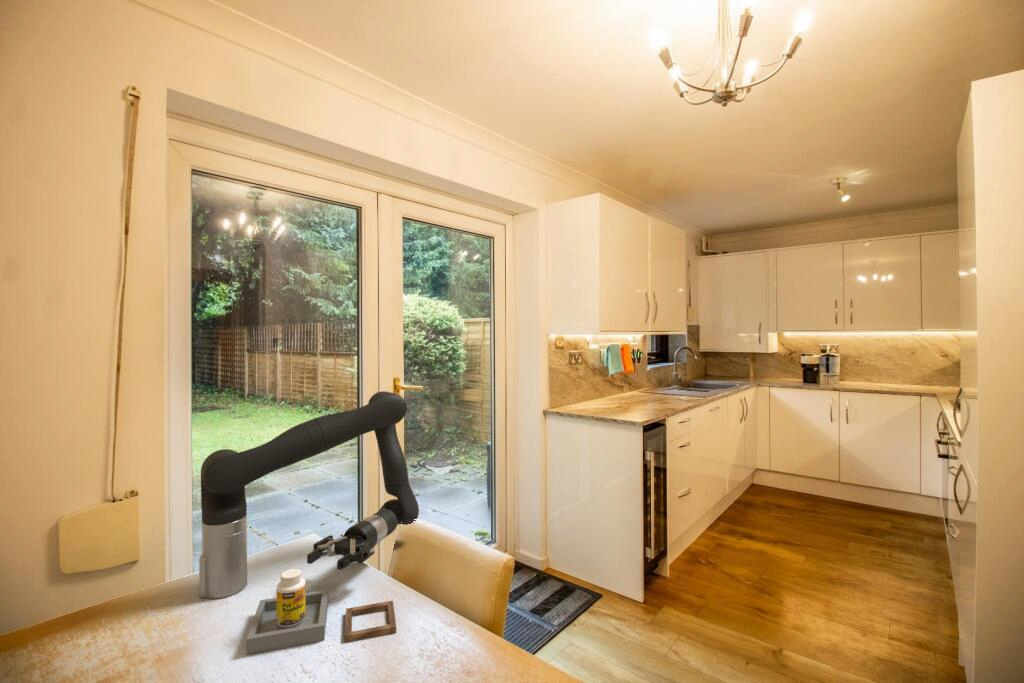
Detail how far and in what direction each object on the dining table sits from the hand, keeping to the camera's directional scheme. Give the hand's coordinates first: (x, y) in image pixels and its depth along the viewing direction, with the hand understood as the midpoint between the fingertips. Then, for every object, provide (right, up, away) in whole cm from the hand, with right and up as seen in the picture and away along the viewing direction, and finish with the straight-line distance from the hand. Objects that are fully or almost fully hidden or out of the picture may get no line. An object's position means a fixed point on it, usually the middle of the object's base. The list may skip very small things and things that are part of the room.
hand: (323, 562), depth 108 cm
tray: (-3, -9, -9) cm, 13 cm away
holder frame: (+13, -9, -8) cm, 18 cm away
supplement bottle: (-3, -8, -9) cm, 13 cm away
